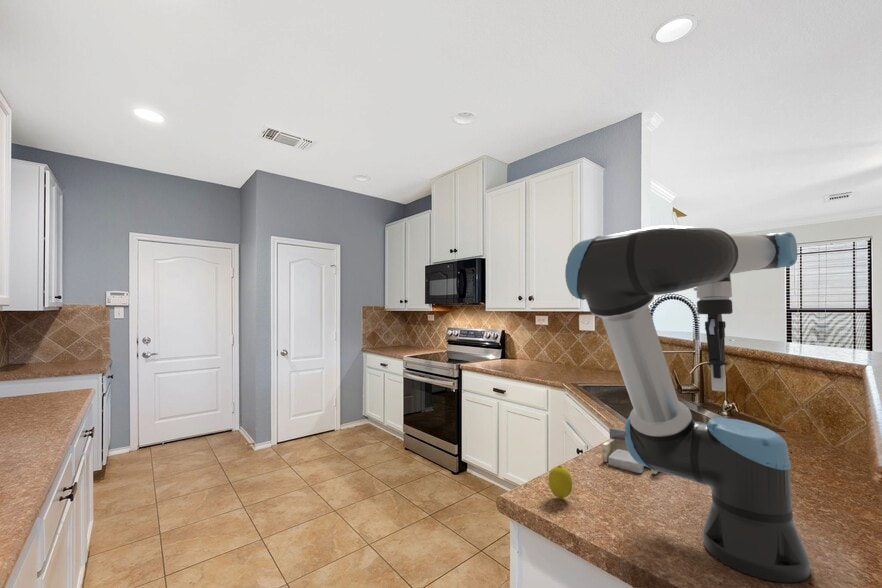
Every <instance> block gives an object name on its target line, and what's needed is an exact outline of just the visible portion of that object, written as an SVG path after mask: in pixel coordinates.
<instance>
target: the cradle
mask: <svg viewBox="0 0 882 588" xmlns="http://www.w3.org/2000/svg"><path fill="white" fill-rule="evenodd" d="M601 445H602V446H601V447H602V448H601V449H602V451H601V452H602V462H605V463H608V462H609V460H608V458H609V456H610V455H611V454H612V453H613V452H614V451H616V450H618V449H620V450H625V451H628V449H627V446H626V442H625V440H622V439H617V438H611V439H610V438H608V439H607V440H606V441H605V442H603V443H602V444H601ZM650 472H651V473H650V474H653V475H657V474H658V473H659V472H660V471H655V470H652V469H651V468H650Z"/></svg>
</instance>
